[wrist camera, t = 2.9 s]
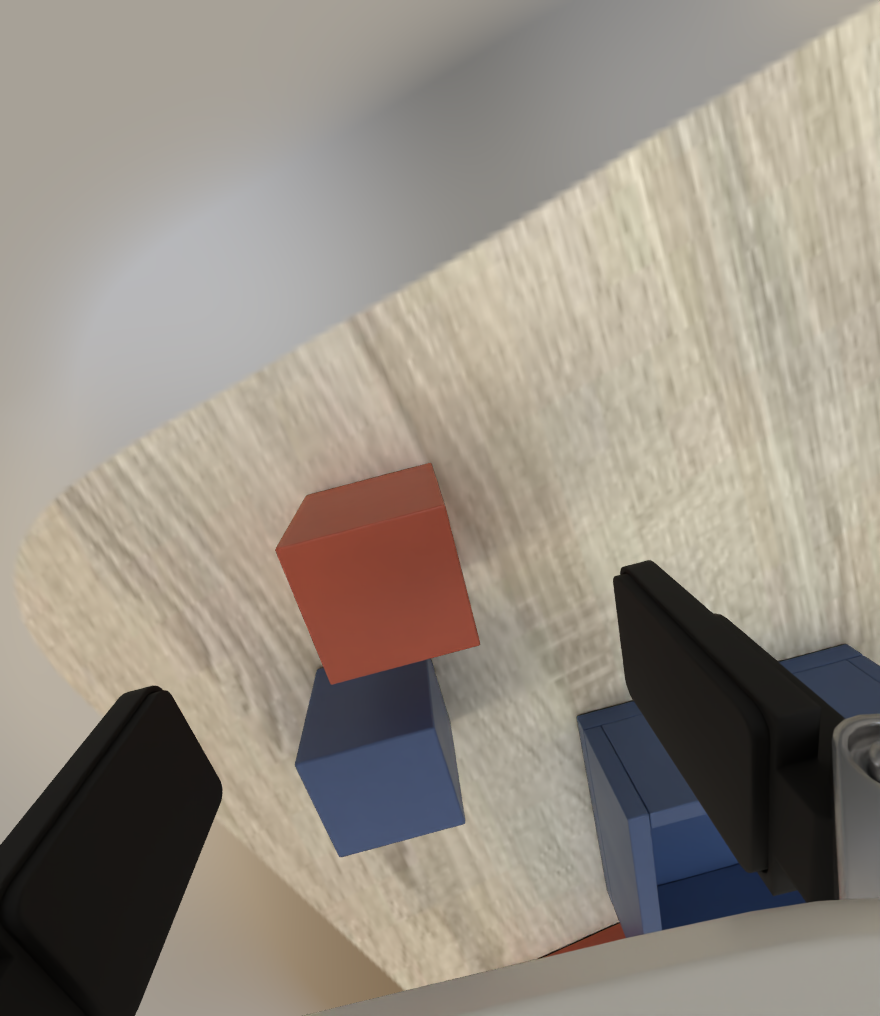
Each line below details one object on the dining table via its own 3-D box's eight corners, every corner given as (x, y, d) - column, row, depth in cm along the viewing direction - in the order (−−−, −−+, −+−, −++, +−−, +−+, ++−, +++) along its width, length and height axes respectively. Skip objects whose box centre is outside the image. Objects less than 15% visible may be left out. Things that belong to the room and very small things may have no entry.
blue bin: (606, 889, 25) (654, 1010, 20) (576, 715, 20) (627, 820, 16) (829, 829, 25) (925, 935, 20) (846, 643, 21) (973, 726, 16)
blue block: (350, 750, 20) (339, 859, 16) (316, 668, 18) (293, 765, 14) (450, 723, 20) (466, 824, 16) (425, 639, 18) (434, 727, 14)
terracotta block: (345, 603, 17) (330, 685, 13) (305, 495, 16) (273, 549, 12) (459, 573, 17) (480, 645, 13) (431, 461, 16) (444, 504, 12)
